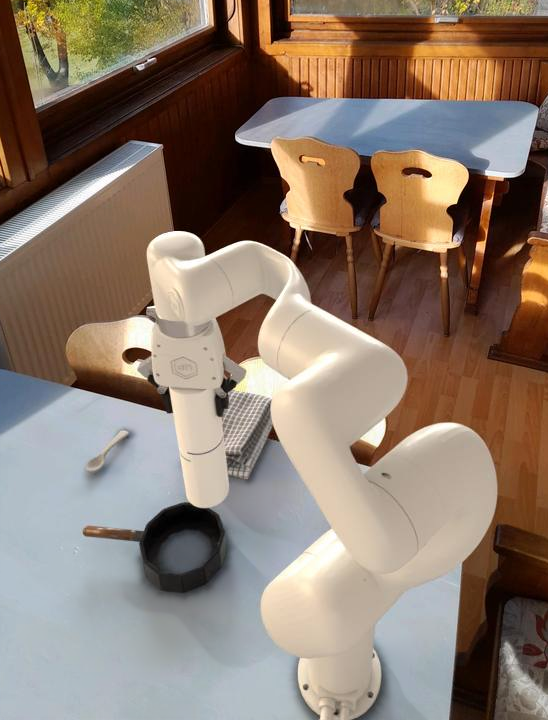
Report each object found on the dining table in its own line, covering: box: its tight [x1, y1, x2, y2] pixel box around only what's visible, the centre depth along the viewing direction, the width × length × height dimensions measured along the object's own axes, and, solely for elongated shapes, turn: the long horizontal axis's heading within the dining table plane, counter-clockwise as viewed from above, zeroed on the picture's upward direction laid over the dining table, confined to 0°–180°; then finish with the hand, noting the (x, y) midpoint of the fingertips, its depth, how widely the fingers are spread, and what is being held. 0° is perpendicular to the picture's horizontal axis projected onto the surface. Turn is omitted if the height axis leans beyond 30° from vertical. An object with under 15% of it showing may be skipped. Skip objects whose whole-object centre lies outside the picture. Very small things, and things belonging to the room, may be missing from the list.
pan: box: [82, 501, 228, 594], centre depth 117 cm, size 14×25×4 cm, turn 84°
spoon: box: [85, 429, 130, 474], centre depth 136 cm, size 3×12×2 cm, turn 159°
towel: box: [221, 389, 274, 480], centre depth 137 cm, size 15×18×8 cm
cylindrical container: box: [169, 387, 230, 509], centre depth 105 cm, size 7×7×25 cm
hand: (196, 408), depth 102 cm, fingers closed on cylindrical container, 7 cm apart
